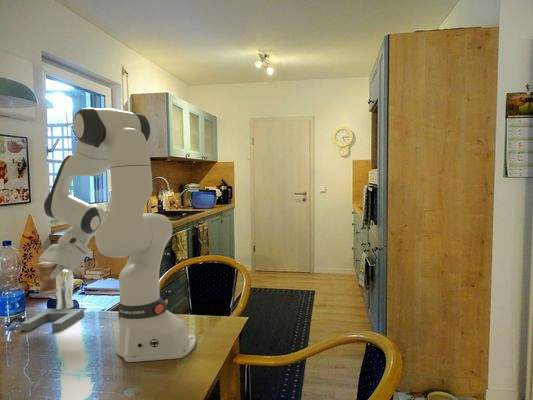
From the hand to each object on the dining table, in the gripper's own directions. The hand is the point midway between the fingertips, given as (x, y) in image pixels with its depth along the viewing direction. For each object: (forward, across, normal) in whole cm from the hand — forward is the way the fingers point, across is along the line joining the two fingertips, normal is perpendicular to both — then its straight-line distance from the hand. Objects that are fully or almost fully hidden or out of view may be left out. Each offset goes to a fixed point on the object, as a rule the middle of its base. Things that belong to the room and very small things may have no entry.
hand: (45, 276), depth 134 cm
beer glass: (+3, -14, +22) cm, 26 cm away
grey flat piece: (+10, -1, +14) cm, 17 cm away
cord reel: (+3, 0, +4) cm, 5 cm away
